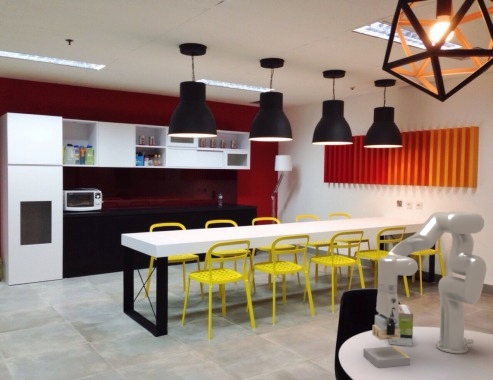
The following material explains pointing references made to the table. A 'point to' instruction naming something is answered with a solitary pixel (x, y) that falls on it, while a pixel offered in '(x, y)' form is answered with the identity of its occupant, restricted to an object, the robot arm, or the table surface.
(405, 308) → the tea box
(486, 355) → the table surface
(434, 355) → the table surface
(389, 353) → the dock
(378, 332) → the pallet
